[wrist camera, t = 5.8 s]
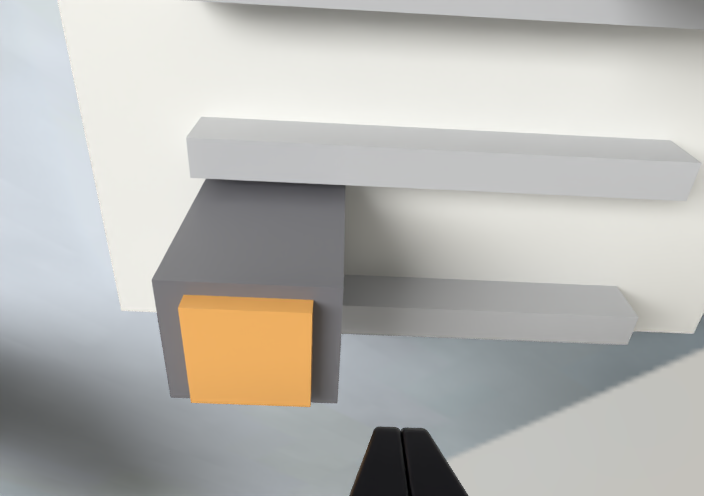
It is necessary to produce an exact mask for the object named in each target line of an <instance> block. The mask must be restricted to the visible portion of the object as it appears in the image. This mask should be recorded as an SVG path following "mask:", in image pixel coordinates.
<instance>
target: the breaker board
mask: <svg viewBox="0 0 704 496" xmlns="http://www.w3.org/2000/svg"><path fill="white" fill-rule="evenodd" d="M57 1H58V6H59V11H60V16H61V20H62V25H63V30H64V35H65V40H66V45H67V49H68V54H69V59H70V64H71V69H72V74H73V79H74V83H75V88H76V93H77V98H78V103H79V108H80V113H81V117H82V122H83V127H84V132H85V137H86V142H87V146H88V151H89V156H90V161H91V166H92V171H93V176H94V180H95V185H96V190H97V195H98V200H99V205H100V209H101V214H102V219H103V224H104V229H105V234H106V239H107V243H108V248H109V253H110V258H111V263H112V268H113V273H114V277H115V282H116V287H117V292H118V297H119V302H120V306H121V311H139V312H157V311H156V305H155V299H154V293H153V287H152V278H153V276H154V274H155V272H156V271H157V269H158V267H159V265H160V263H161V261H162V259H163V257H164V256H165V254H166V252H167V250H168V248H169V246H170V244H171V243H172V241H173V239H174V237H175V235H176V233H177V231H178V229H179V228H180V226H181V224H182V222H183V220H184V218H185V216H186V215H187V213H188V211H189V209H190V207H191V205H192V203H193V201H194V200H195V198H196V196H197V194H198V192H199V190H200V188H201V187H202V185H203V183H204V181H205V179H225V180H246V181H267V182H288V183H309V184H331V185H346V186H345V241H344V291H343V309H342V327H341V334H362V335H388V336H413V337H439V338H464V339H489V340H515V341H540V342H566V343H591V344H617V345H628V343H629V340H630V338H631V335H632V333H633V331H639V332H664V333H688V334H694V332H695V329H696V327H697V325H698V323H699V321H700V319H701V317H702V315H703V313H704V0H57Z"/></svg>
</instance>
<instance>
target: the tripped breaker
mask: <svg viewBox="0 0 704 496" xmlns="http://www.w3.org/2000/svg"><path fill="white" fill-rule="evenodd" d="M345 186H346V185H331V184H309V183H288V182H267V181H246V180H225V179H205V181H204V183H203V185H202V187H201V188H200V190H199V192H198V194H197V196H196V198H195V200H194V201H193V203H192V205H191V207H190V209H189V211H188V213H187V215H186V216H185V218H184V220H183V222H182V224H181V226H180V228H179V229H178V231H177V233H176V235H175V237H174V239H173V241H172V243H171V244H170V246H169V248H168V250H167V252H166V254H165V256H164V257H163V259H162V261H161V263H160V265H159V267H158V269H157V271H156V272H155V274H154V276H153V278H152V287H153V293H154V299H155V305H156V311H157V317H158V323H159V329H160V335H161V341H162V347H163V353H164V359H165V365H166V372H167V378H168V384H169V390H170V396H171V397H173V398H190V399H191V403H213V404H241V405H270V406H298V407H310V405H311V402H313V403H337V400H338V381H339V363H340V345H341V327H342V309H343V291H344V241H345Z"/></svg>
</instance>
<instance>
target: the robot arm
mask: <svg viewBox="0 0 704 496" xmlns="http://www.w3.org/2000/svg"><path fill="white" fill-rule="evenodd" d="M349 496H468V494H467V493H466V491H465V489H464V488H463V486H462V485H461V483H460V482H459V480H458V478H457V477H456V475H455V474H454V472H453V470H452V469H451V467H450V466H449V464H448V462H447V461H446V459H445V458H444V456H443V454H442V453H441V451H440V450H439V448H438V447H437V445H436V443H435V442H434V440H433V439H432V437H431V435H430V434H429V432H428V431H427V430H425V429H423V428H403V429H401V431H400V430H399V428H397V427H376V428H375V429H374V431H373V434H372V437H371V439H370V442H369V445H368V447H367V450H366V453H365V455H364V458H363V461H362V463H361V466H360V468H359V471H358V474H357V476H356V479H355V482H354V484H353V487H352V490H351V492H350V495H349Z"/></svg>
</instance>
